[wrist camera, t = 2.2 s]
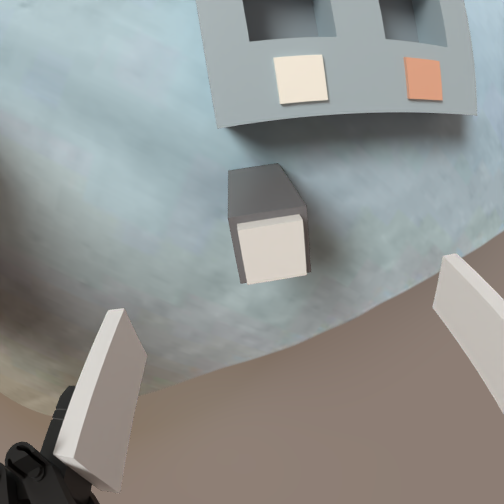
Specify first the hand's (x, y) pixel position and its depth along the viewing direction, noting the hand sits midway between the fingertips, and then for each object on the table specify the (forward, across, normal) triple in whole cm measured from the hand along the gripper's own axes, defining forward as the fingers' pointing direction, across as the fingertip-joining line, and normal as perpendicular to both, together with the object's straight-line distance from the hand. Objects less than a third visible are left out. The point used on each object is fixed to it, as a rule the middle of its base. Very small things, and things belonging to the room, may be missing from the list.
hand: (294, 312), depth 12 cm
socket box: (+15, +8, +13) cm, 22 cm away
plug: (+16, 0, 0) cm, 16 cm away
